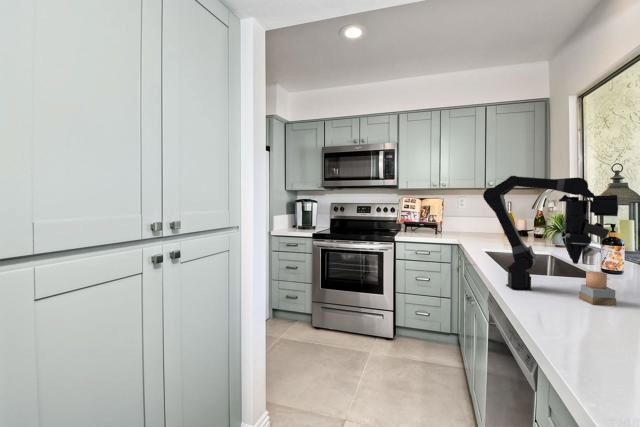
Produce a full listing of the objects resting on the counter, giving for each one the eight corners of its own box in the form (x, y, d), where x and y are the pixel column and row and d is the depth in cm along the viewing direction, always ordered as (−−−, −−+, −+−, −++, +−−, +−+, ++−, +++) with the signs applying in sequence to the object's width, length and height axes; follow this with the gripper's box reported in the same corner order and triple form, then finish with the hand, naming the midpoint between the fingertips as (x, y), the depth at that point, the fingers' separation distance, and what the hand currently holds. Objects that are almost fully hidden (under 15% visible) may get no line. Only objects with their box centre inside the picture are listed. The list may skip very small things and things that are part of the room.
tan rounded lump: (593, 289, 100) (593, 274, 100) (582, 284, 105) (582, 271, 104) (610, 289, 99) (611, 275, 99) (598, 285, 104) (599, 271, 104)
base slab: (592, 305, 99) (592, 297, 99) (578, 299, 106) (578, 291, 106) (615, 306, 98) (616, 298, 98) (600, 299, 105) (600, 292, 105)
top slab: (593, 297, 99) (593, 289, 99) (581, 291, 105) (581, 284, 105) (615, 298, 98) (615, 290, 98) (601, 292, 104) (602, 284, 104)
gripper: (614, 217, 95) (611, 269, 96) (602, 214, 111) (600, 259, 111) (567, 216, 101) (564, 265, 102) (562, 213, 117) (560, 256, 118)
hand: (573, 261), depth 108 cm, fingers open, 9 cm apart
